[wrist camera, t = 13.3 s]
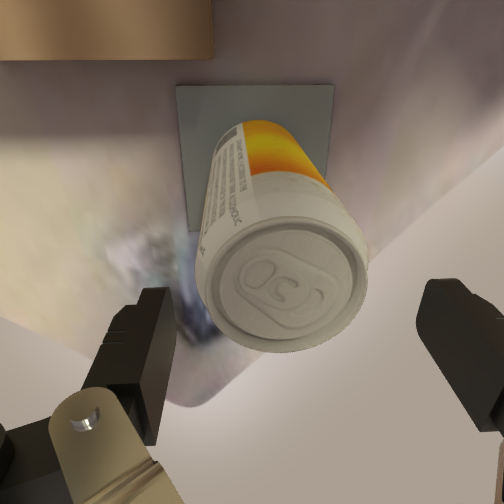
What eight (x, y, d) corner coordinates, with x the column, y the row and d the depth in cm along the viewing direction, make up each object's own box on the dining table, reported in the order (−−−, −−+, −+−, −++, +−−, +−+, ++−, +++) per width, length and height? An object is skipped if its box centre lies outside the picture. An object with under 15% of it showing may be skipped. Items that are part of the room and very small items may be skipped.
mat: (332, 84, 23) (334, 84, 22) (318, 224, 28) (320, 228, 27) (176, 85, 22) (174, 86, 22) (190, 228, 27) (189, 231, 27)
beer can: (263, 220, 26) (294, 383, 13) (195, 172, 24) (155, 311, 11) (318, 155, 24) (419, 276, 11) (248, 97, 22) (274, 163, 9)
